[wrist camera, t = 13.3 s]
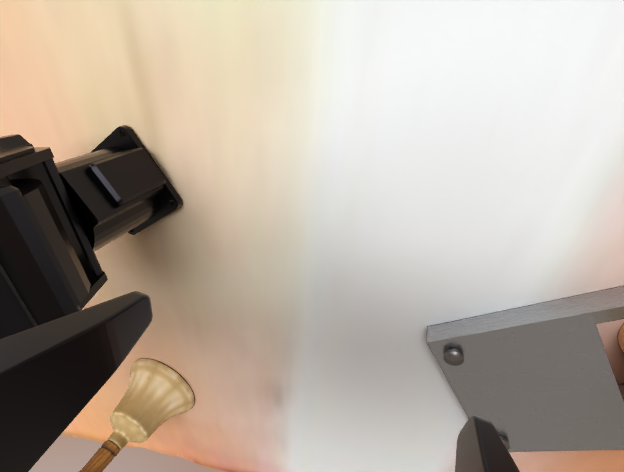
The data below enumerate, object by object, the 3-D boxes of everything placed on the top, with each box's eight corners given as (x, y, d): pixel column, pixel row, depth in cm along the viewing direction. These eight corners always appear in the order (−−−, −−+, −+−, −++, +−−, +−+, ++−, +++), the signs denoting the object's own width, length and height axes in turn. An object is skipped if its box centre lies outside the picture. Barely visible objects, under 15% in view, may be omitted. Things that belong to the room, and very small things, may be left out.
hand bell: (154, 406, 41) (21, 574, 28) (120, 356, 38) (-48, 519, 25) (206, 412, 38) (84, 606, 25) (174, 358, 35) (13, 547, 22)
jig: (485, 433, 26) (488, 457, 24) (427, 326, 23) (426, 347, 21) (854, 415, 17) (897, 452, 16) (839, 241, 14) (889, 264, 13)
